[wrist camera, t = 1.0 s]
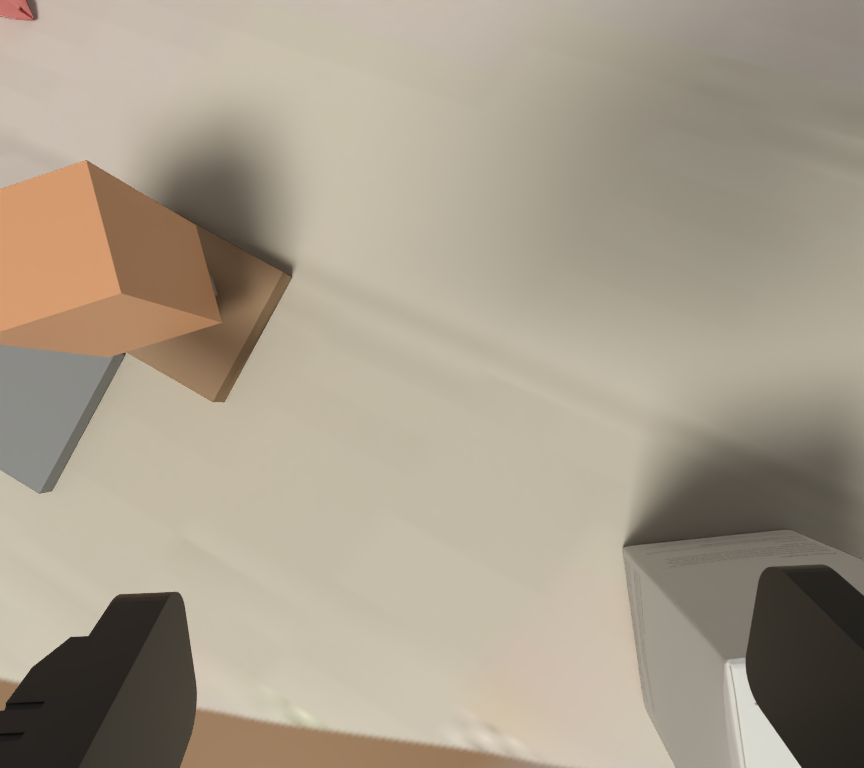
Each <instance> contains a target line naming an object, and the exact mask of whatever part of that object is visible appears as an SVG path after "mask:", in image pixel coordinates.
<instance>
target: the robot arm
mask: <svg viewBox="0 0 864 768" xmlns="http://www.w3.org/2000/svg"><path fill="white" fill-rule="evenodd" d="M746 674H747V679H748V683H749V687H750V690H751V692H752V695H753V697H754V699H755V701H756V703H757V705H758V706H759V708H760V709H761V711H762V712H763V714H764V715H765V716H766V718H767V719H768V721H769V722H770V724H771V725H772V726H773V728H774V729H775V731H776V732H777V734H778V735H779V736H780V738H781V739H782V741H783V742H784V743H785V745H786V746H787V748H788V749H789V751H790V752H791V753H792V755H793V756H794V758H795V759H796V760H797V762H798V763H799V765H800V766H801V768H864V595H862V594H861V593H860V592H859V591H858V590H857V589H856V588H854V587H853V586H852V585H851V584H850V583H849V582H848V581H846V580H845V579H844V578H843V577H842V576H841V575H839V574H838V573H837V572H836V571H835V570H833V569H832V568H831V567H829V566H827V565H823V564H818V565H796V566H774V567H768V568H766V569H765V570H763V572H762V573H761V575H760V578H759V581H758V587H757V593H756V598H755V604H754V610H753V616H752V622H751V628H750V634H749V640H748V646H747V652H746ZM196 701H197V689H196V680H195V673H194V666H193V659H192V652H191V646H190V639H189V632H188V625H187V618H186V612H185V606H184V601H183V598H182V596H181V595H180V593H178V592H164V593H142V594H120V595H118V596H116V597H115V598H114V599H113V600H112V602H111V603H110V604H109V606H108V607H107V609H106V610H105V612H104V614H103V615H102V617H101V618H100V620H99V621H98V623H97V624H96V626H95V627H94V629H93V630H92V632H91V633H90V635H89V636H84V637H70V638H69V639H68V640H67V641H65V642H64V643H63V644H61V645H60V646H59V647H58V648H56V649H55V650H54V651H53V652H51V653H50V654H49V655H47V656H46V657H45V658H44V659H42V660H41V661H40V662H39V663H37V664H36V665H35V666H33V667H32V668H31V670H30V671H29V673H28V674H27V675H26V677H25V678H24V679H23V681H22V682H21V683H20V685H19V686H18V688H17V689H16V690H15V692H14V693H13V694H12V696H11V697H10V699H9V700H8V701H7V702H6V708H5V710H4V711H0V768H180V765H181V762H182V760H183V757H184V754H185V751H186V749H187V746H188V743H189V740H190V737H191V734H192V729H193V725H194V719H195V713H196Z"/></svg>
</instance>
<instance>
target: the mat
mask: <svg viewBox="0 0 864 768" xmlns="http://www.w3.org/2000/svg"><path fill="white" fill-rule="evenodd" d="M124 356H125V354H123V353H122V354H118V355H115V356H112V357H101V356H92V355H84V354H75V353H66V352H57V351H49V350H40V349H31V348H22V347H13V346H5V345H0V470H1V471H3V472H5V473H6V474H8V475H10V476H11V477H13V478H15V479H16V480H18V481H19V482H21V483H23V484H24V485H26V486H28V487H29V488H31V489H32V490H34V491H36V492H37V493H39V494H41V493H46V492H50V491H52V490H53V488H54V486H55V484H56V482H57V480H58V478H59V477H60V475H61V473H62V471H63V469H64V467H65V465H66V464H67V462H68V460H69V458H70V456H71V454H72V452H73V451H74V449H75V447H76V445H77V443H78V441H79V439H80V438H81V436H82V434H83V432H84V430H85V428H86V426H87V425H88V423H89V421H90V419H91V417H92V415H93V413H94V412H95V410H96V408H97V406H98V404H99V402H100V400H101V399H102V397H103V395H104V393H105V391H106V389H107V387H108V386H109V384H110V382H111V380H112V378H113V376H114V374H115V373H116V371H117V369H118V367H119V365H120V363H121V361H122V360H123V358H124Z"/></svg>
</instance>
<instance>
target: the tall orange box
mask: <svg viewBox="0 0 864 768" xmlns="http://www.w3.org/2000/svg"><path fill="white" fill-rule="evenodd" d="M219 323H222V321H221V317H220V313H219V309H218V306H217V302H216V298H215V295H214V291H213V287H212V283H211V280H210V276H209V272H208V269H207V265H206V261H205V257H204V254H203V250H202V246H201V243H200V239H199V235H198V232H197V228H196V225H195V224H193V223H191V222H190V221H188V220H186V219H185V218H183V217H181V216H180V215H178V214H176V213H174V212H173V211H171V210H169V209H168V208H166V207H164V206H163V205H161V204H159V203H158V202H156V201H154V200H153V199H151V198H149V197H148V196H146V195H144V194H142V193H141V192H139V191H137V190H136V189H134V188H132V187H131V186H129V185H127V184H126V183H124V182H122V181H121V180H119V179H117V178H116V177H114V176H112V175H110V174H109V173H107V172H105V171H104V170H102V169H100V168H99V167H97V166H95V165H94V164H92V163H90V162H89V161H87V160H85V161H82V162H79V163H76V164H73V165H70V166H67V167H64V168H61V169H58V170H55V171H52V172H49V173H46V174H43V175H41V176H38V177H35V178H32V179H29V180H26V181H23V182H20V183H17V184H14V185H11V186H8V187H5V188H2V189H0V345H5V346H13V347H22V348H31V349H40V350H49V351H57V352H66V353H75V354H84V355H92V356H101V357H112V356H115V355H118V354H122V353H125V352H128V351H131V350H135V349H138V348H141V347H144V346H148V345H151V344H154V343H158V342H161V341H164V340H167V339H171V338H174V337H177V336H180V335H184V334H187V333H190V332H193V331H197V330H200V329H203V328H206V327H210V326H213V325H216V324H219Z"/></svg>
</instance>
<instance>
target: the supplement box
mask: <svg viewBox="0 0 864 768" xmlns="http://www.w3.org/2000/svg"><path fill="white" fill-rule="evenodd" d="M623 556H624V564H625V571H626V578H627V586H628V593H629V600H630V607H631V615H632V622H633V629H634V636H635V643H636V650H637V658H638V665H639V673H640V680H641V687H642V694H643V700H644V705H645V708H646V711H647V713H648V715H649V717H650V719H651V721H652V723H653V725H654V727H655V729H656V731H657V732H658V734H659V736H660V738H661V740H662V742H663V744H664V746H665V748H666V750H667V752H668V754H669V756H670V758H671V760H672V761H673V763H674V765H675V767H676V768H801V766H800V765H799V763H798V762H797V760H796V759H795V758H794V756H793V755H792V753H791V752H790V751H789V749H788V748H787V746H786V745H785V743H784V742H783V741H782V739H781V738H780V736H779V735H778V734H777V732H776V731H775V729H774V728H773V726H772V725H771V724H770V722H769V721H768V719H767V718H766V716H765V715H764V714H763V712H762V711H761V709H760V708H759V706H758V705H757V703H756V701H755V699H754V697H753V695H752V692H751V690H750V687H749V683H748V679H747V674H746V652H747V646H748V640H749V634H750V628H751V622H752V616H753V610H754V604H755V598H756V593H757V587H758V581H759V578H760V575H761V573H762V572H763V570H765V569H766V568H768V567H774V566H796V565H818V564H823V565H827V566H829V567H831V568H832V569H833V570H835V571H836V572H837V573H838V574H839V575H841V576H842V577H843V578H844V579H845V580H846V581H848V582H849V583H850V584H851V585H852V586H853V587H854V588H856V589H857V590H858V591H859V592H860V593H861V594H862V595H864V560H861V559H859V558H856V557H854V556H852V555H849V554H847V553H845V552H842V551H840V550H837V549H835V548H833V547H830V546H828V545H825V544H823V543H821V542H818V541H816V540H814V539H811V538H809V537H807V536H804V535H802V534H799V533H797V532H795V531H792V530H789V529H787V530H776V531H767V532H757V533H747V534H738V535H728V536H718V537H709V538H699V539H690V540H680V541H671V542H661V543H652V544H643V545H634V546H627V547H624V548H623Z"/></svg>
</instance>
